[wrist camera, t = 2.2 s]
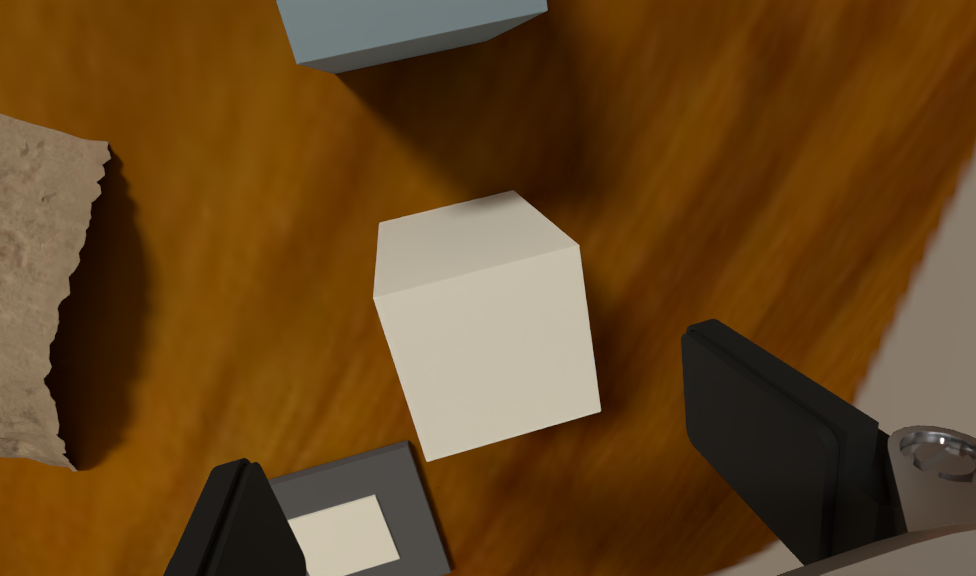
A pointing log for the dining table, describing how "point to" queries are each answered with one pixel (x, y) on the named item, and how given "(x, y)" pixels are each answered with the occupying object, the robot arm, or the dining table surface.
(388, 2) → the slate-blue block
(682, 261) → the dining table surface
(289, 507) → the card
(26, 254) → the clay tablet
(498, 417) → the cream block
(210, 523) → the robot arm
